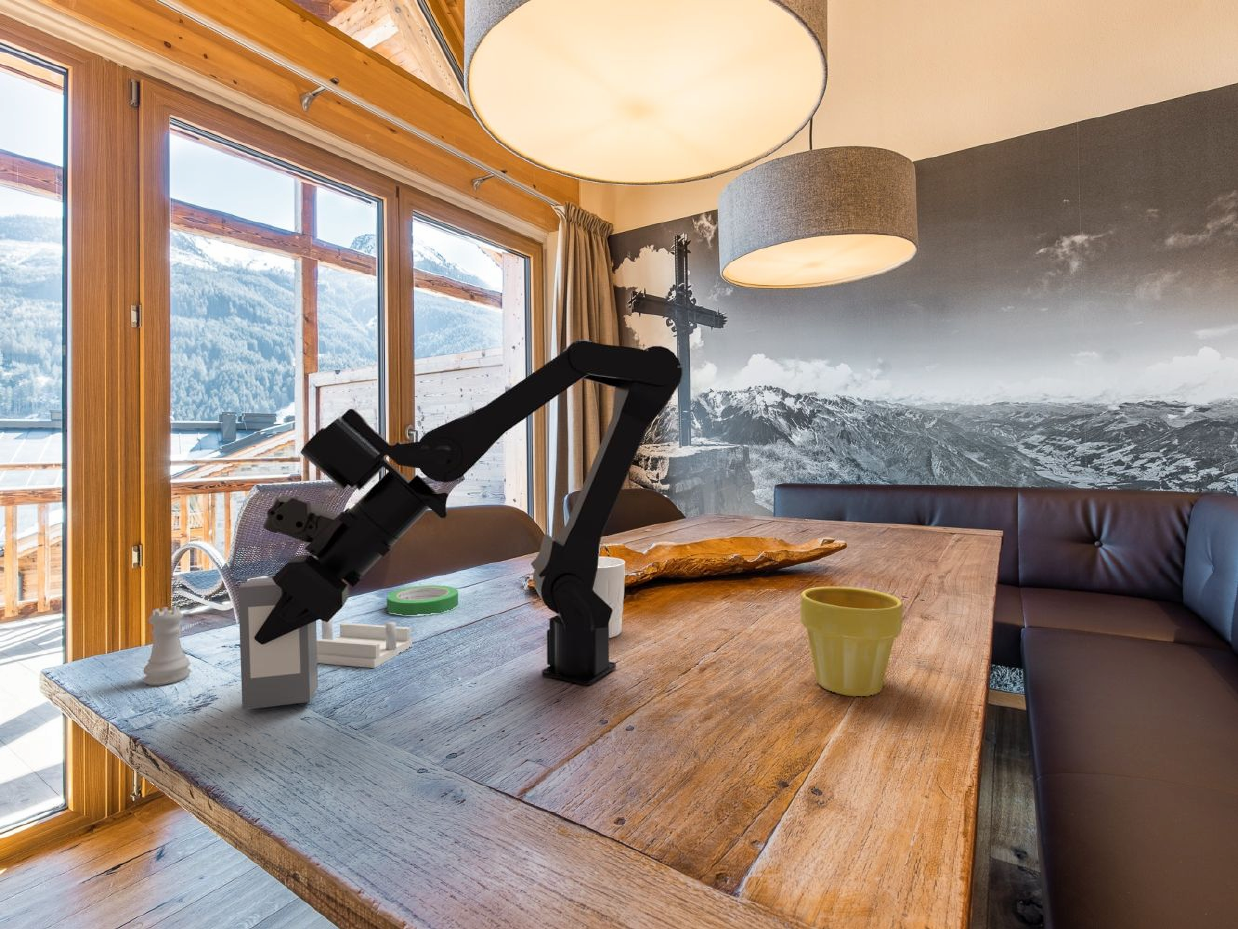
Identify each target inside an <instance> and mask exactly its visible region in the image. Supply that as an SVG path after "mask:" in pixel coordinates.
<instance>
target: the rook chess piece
mask: <svg viewBox="0 0 1238 929" xmlns="http://www.w3.org/2000/svg"><path fill="white" fill-rule="evenodd" d="M183 618H184V613H182V612H181V611H180V607H179V606H177V605H174V606H171V607H170V609H169V610H168V606H165V607H164V606H163V607H161V611H160V608H155V609H153V610H151V615H150V616H149V618H147V622H149V624H151V626H152V630H151V632H150V634H151V635H152V640H153V641H152V648H151V654H150V657H149V659H147V662H148V663H147V664H146V665H145V666H144V668H143V670H142V671H143V674H144V675H145V676H144V677H142V681H143V683H145V684H146V685H147V684H148V686H150V685H154V687H155V686H156V687H158V685H160V686H167V685H171V683H172V684H175V682H176V683H178V681H179V682H181V681H183V680H185V679H187V678H188V677H189V676H190V674H191V672H192V670H191V668H189V666H190V665H191V662H190V660H189V658H188V657H186V653H184V652H183V649H182V643H181V639H180V631H181V630H182V628H181V626H180V621H181V620H182V619H183ZM166 684H167V685H166Z"/></svg>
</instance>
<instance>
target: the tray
mask: <svg viewBox="0 0 1238 929" xmlns="http://www.w3.org/2000/svg"><path fill="white" fill-rule="evenodd" d="M411 646H413V638H411V627H408V626H405V627H404V626H397V622H395V621H388V622H386V623H385V625H380V624H367V623H353V622H352V623H351V622H342V623H340V624H339V636H337V637H335V638H334V636H333V617H332V618H331V619H330V620H329V621H328V622H325V621H322V620H321V638H317V664H324V665H325V664H327V665H335V666H348V667H356V668H357V667H358V668H368V669H369V668H371V669H376V668H377V667H379V666H381V665H383V664H384V663H387V662H388V661H389V660H391V659H393V658H394V657H396V656H398V655H400V654H401V653H403V652H405V651H407V650H408V649H410V648H412V647H411ZM409 647H410V648H409ZM406 649H407V650H406ZM400 652H401V653H400ZM399 653H400V654H399Z"/></svg>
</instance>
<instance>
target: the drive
mask: <svg viewBox="0 0 1238 929" xmlns="http://www.w3.org/2000/svg"><path fill="white" fill-rule="evenodd" d="M273 577H274V576H272V577H271V576H270V577H258V578H256V577H255V578H249V580H247V581H245V582H244V583H243V584H241V585H239V586H238V588H237V590H238V592H237V593H238V615H239V616H238V620H239V624H238V625H239V646H240V647H239V650H240V674H241V675H240V676H241V678H240V682H241V706H242V708H241V709H242V710H243V711H244V710H250V709H252V710H253V709H258V708H259V709H261V708H267V707H268V708H269V707H277V706H285V705H293V704H294V705H295V704H302V703H310V702H311V700H312V699H313V697H314V695H315V694H316V691H317V690H318V688H319V676H318V674H319V673H318V672H319V671H318V669H319V668H318V663H317V639H318V638H317V621H314V622H312V623H310V624H307V625H305V626H303V627H301V628H298V629H296V630H294V631H292V632H290V633H287V634H285V635H283V636H281V637H279V638H277V639H274V640H272V641H270V642H268V643H266V644H263V645H262V644H260V643H258V642H257V641H256V640H255V639H254V637H255V635H256V634H257V632H258V631H259V629H260V628H261V626H262V625H263V623H264V622H265V620H266V619H267V617H268V616H269V614H270V613H271V611H272V610H273V608H274V607H275V605H276V604H277V602H278V600H279V599H280V597H281V595H282V589H281V588H280V587H279V586H278V585H276V584H275V582H274V581H273V579H272V578H273Z"/></svg>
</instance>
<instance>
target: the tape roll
mask: <svg viewBox="0 0 1238 929" xmlns="http://www.w3.org/2000/svg"><path fill="white" fill-rule="evenodd" d="M457 605H458V606H459V590H458V589H457V588H456V587H453V586H449V585H448V586H446V585H441V584H439V585H433V584H431V585H429V584H428V585H418V586H410V587H405V588H402V589H396V590H395V591H392V592H390V593H388V594H387V596H386V612H387V611H388V612H390V613H396V614H402V615H417V614H431V613H441V612H444V611H447V610H451V609H453V608H454V607H456V606H457ZM453 610H454V609H453ZM451 611H452V610H451ZM388 612H387V613H388ZM441 614H442V613H441Z"/></svg>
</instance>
